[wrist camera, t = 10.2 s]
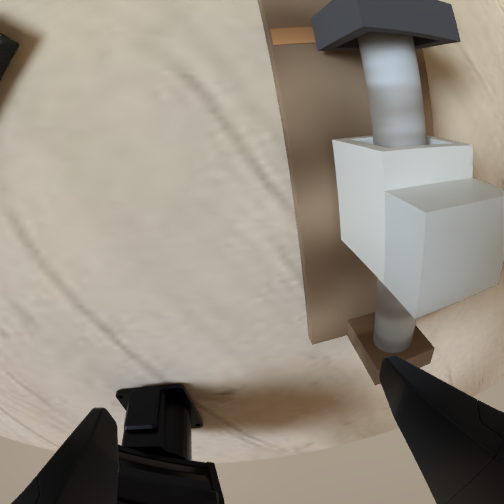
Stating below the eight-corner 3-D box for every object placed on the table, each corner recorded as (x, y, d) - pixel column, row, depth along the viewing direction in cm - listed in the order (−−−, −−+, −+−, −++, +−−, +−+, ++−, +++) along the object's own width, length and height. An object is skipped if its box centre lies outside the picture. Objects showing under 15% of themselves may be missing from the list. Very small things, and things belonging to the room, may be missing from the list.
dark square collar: (400, 53, 13) (460, 41, 9) (317, 51, 13) (363, 26, 8) (393, 23, 13) (451, 4, 8) (310, 18, 12) (351, -17, 8)
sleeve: (413, 223, 18) (498, 283, 11) (341, 239, 18) (414, 319, 11) (411, 132, 16) (515, 157, 8) (331, 139, 15) (425, 164, 8)
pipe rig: (417, 303, 23) (458, 349, 17) (308, 336, 23) (334, 398, 17) (397, -13, 13) (455, -39, 7) (252, -21, 12) (273, -76, 6)
